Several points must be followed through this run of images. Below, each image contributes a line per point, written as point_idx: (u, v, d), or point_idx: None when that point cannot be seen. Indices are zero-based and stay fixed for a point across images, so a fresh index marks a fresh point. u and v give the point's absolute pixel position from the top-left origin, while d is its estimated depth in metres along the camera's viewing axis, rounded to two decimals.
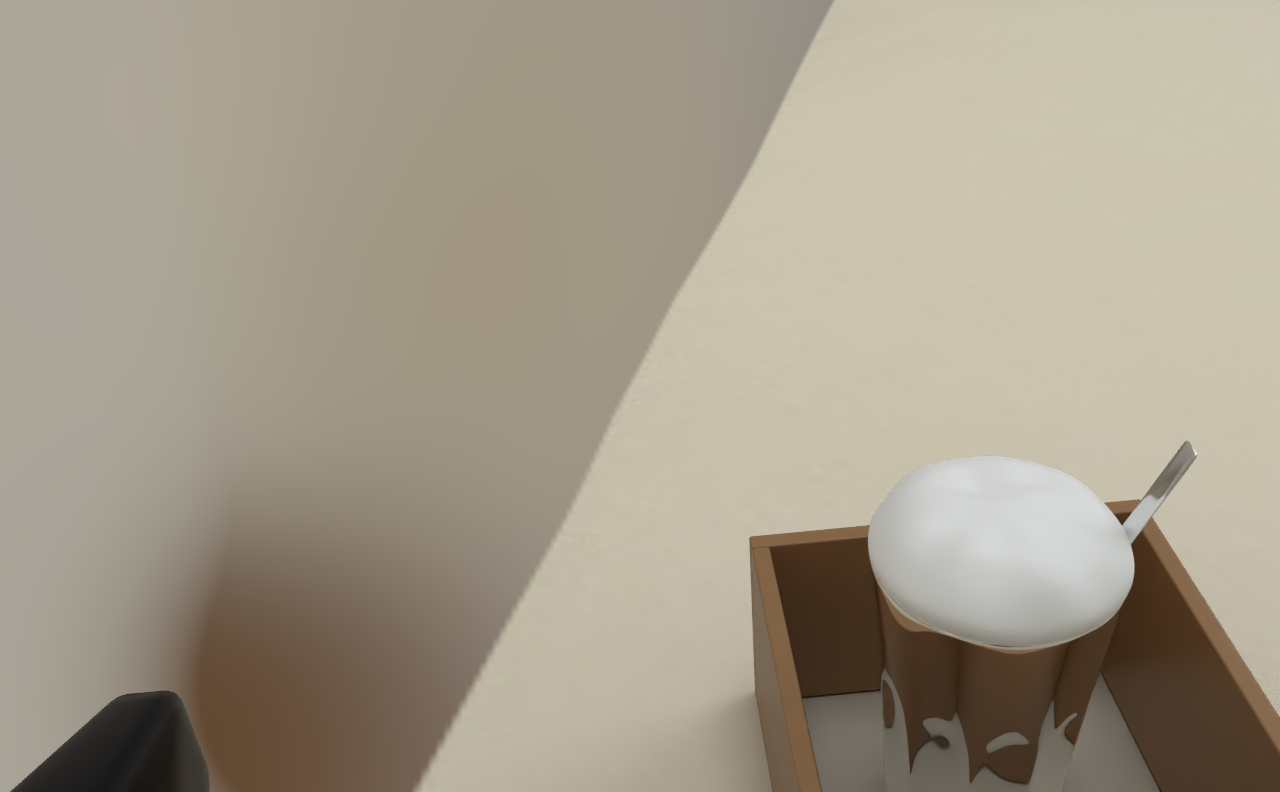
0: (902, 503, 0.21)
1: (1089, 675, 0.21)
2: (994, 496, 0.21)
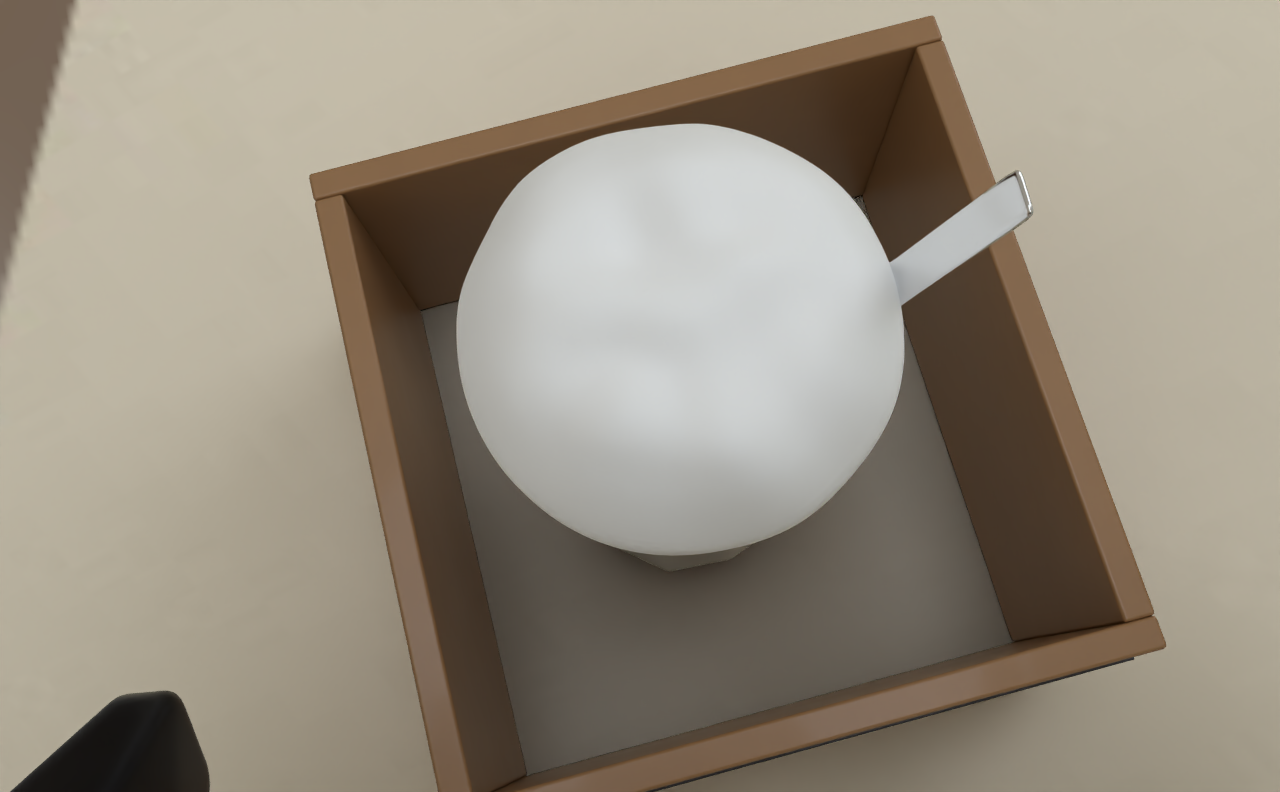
0: (501, 301, 0.11)
1: None
2: (664, 279, 0.11)
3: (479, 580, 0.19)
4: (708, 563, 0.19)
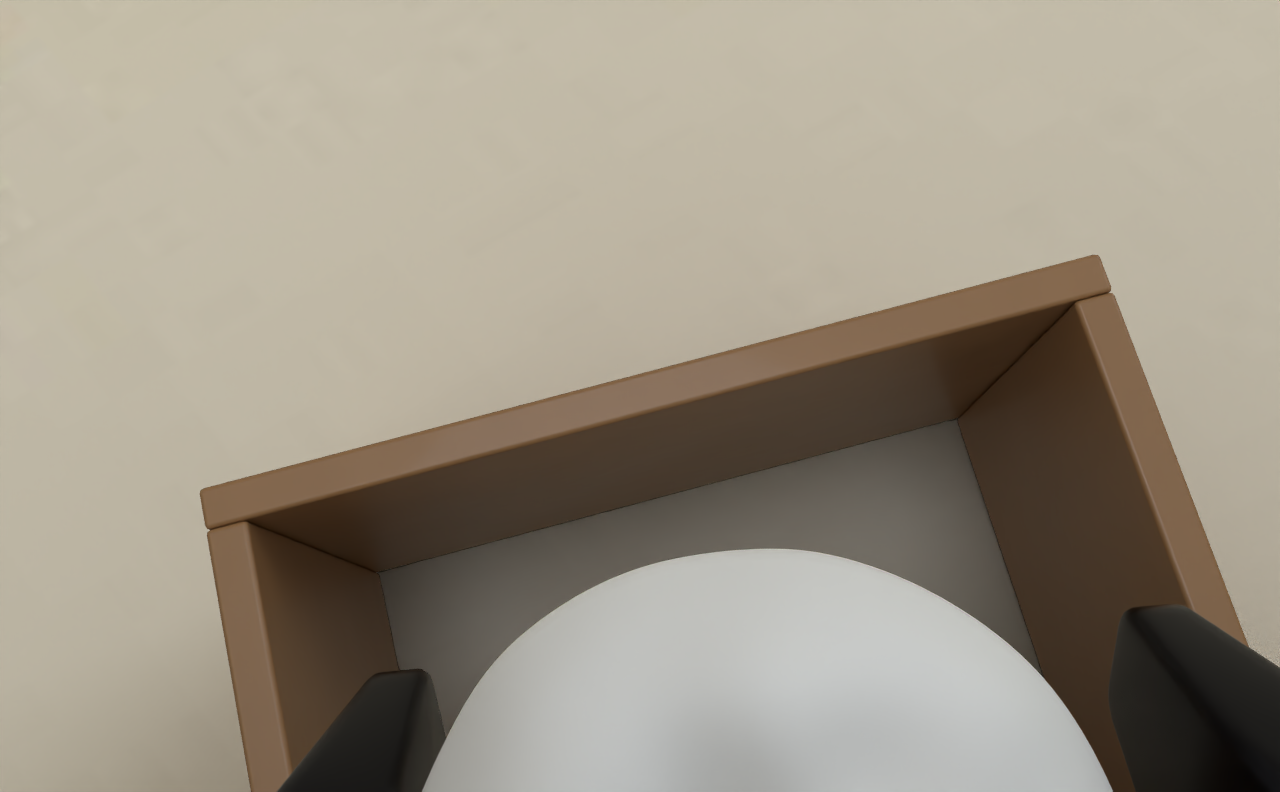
0: None
1: None
2: None
3: None
4: None
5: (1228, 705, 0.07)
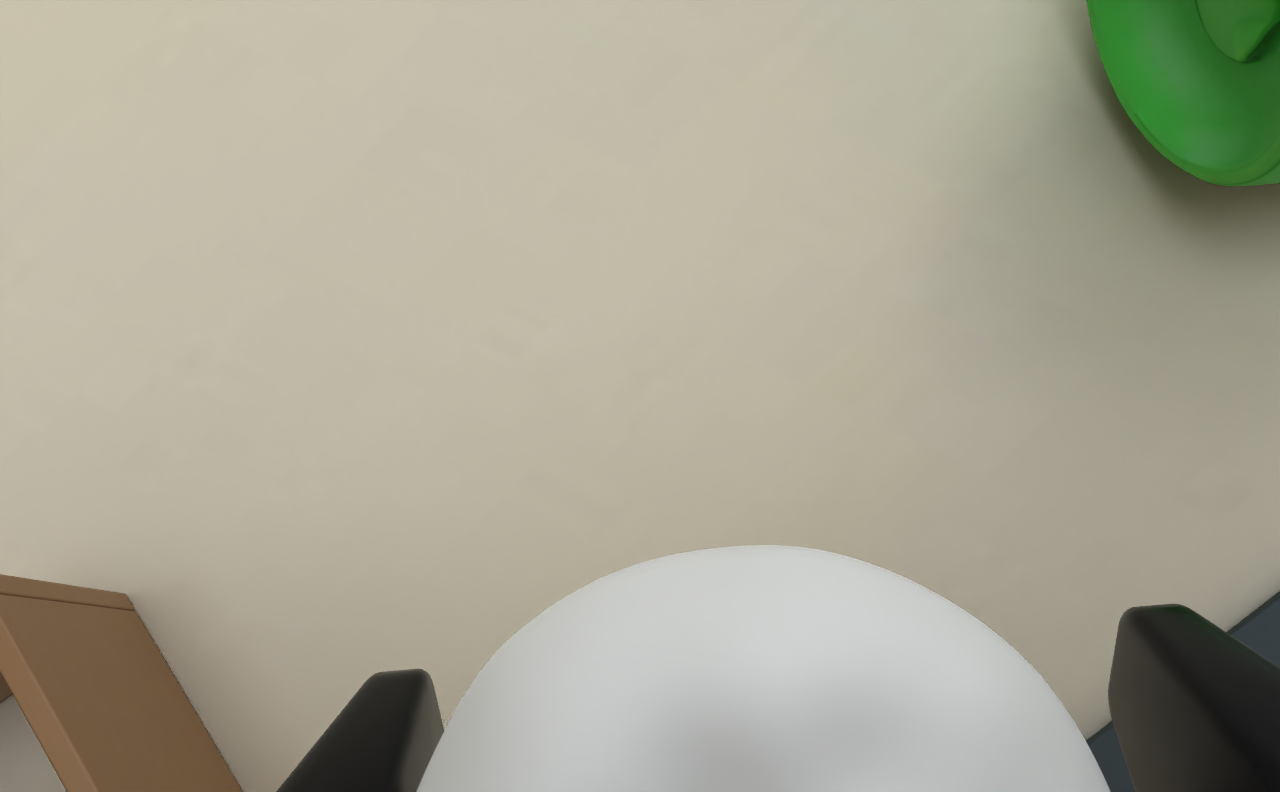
0: None
1: None
2: None
3: None
4: None
5: (1228, 705, 0.07)
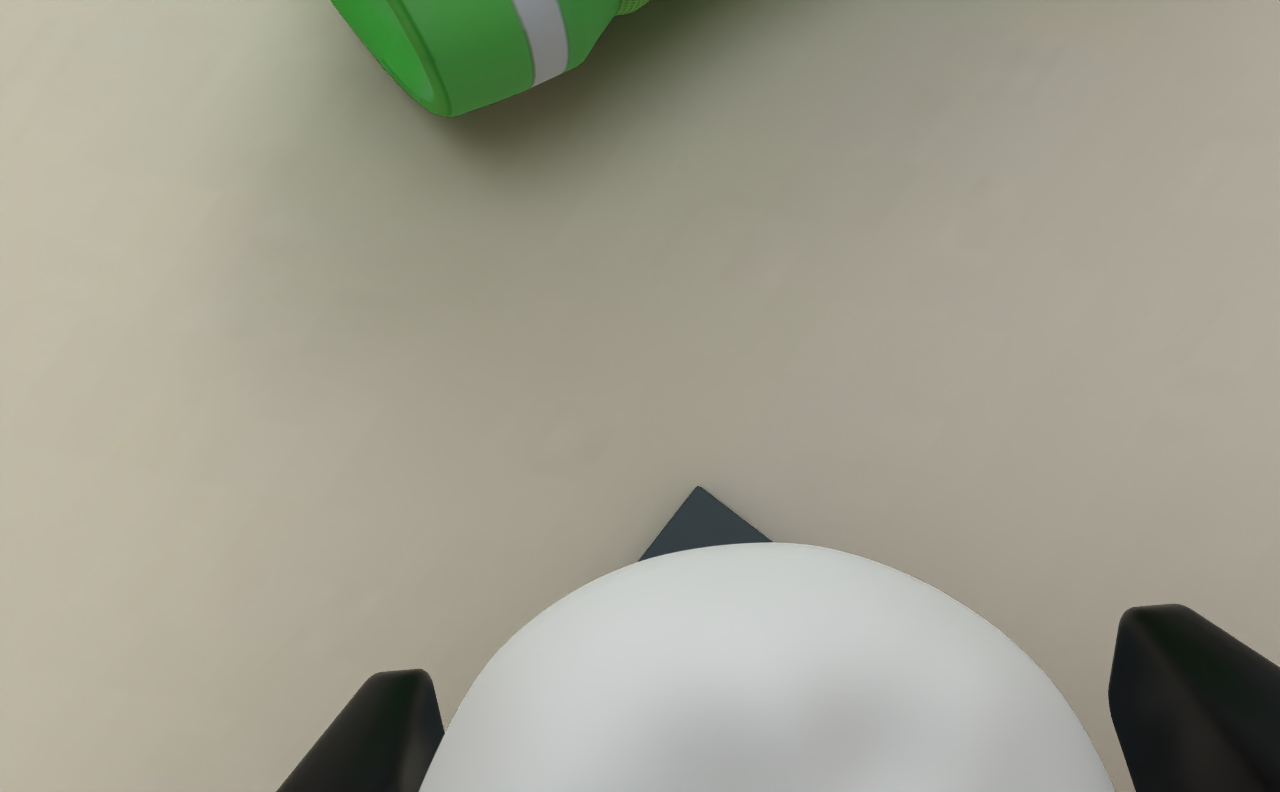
0: None
1: None
2: None
3: None
4: None
5: (1228, 705, 0.07)
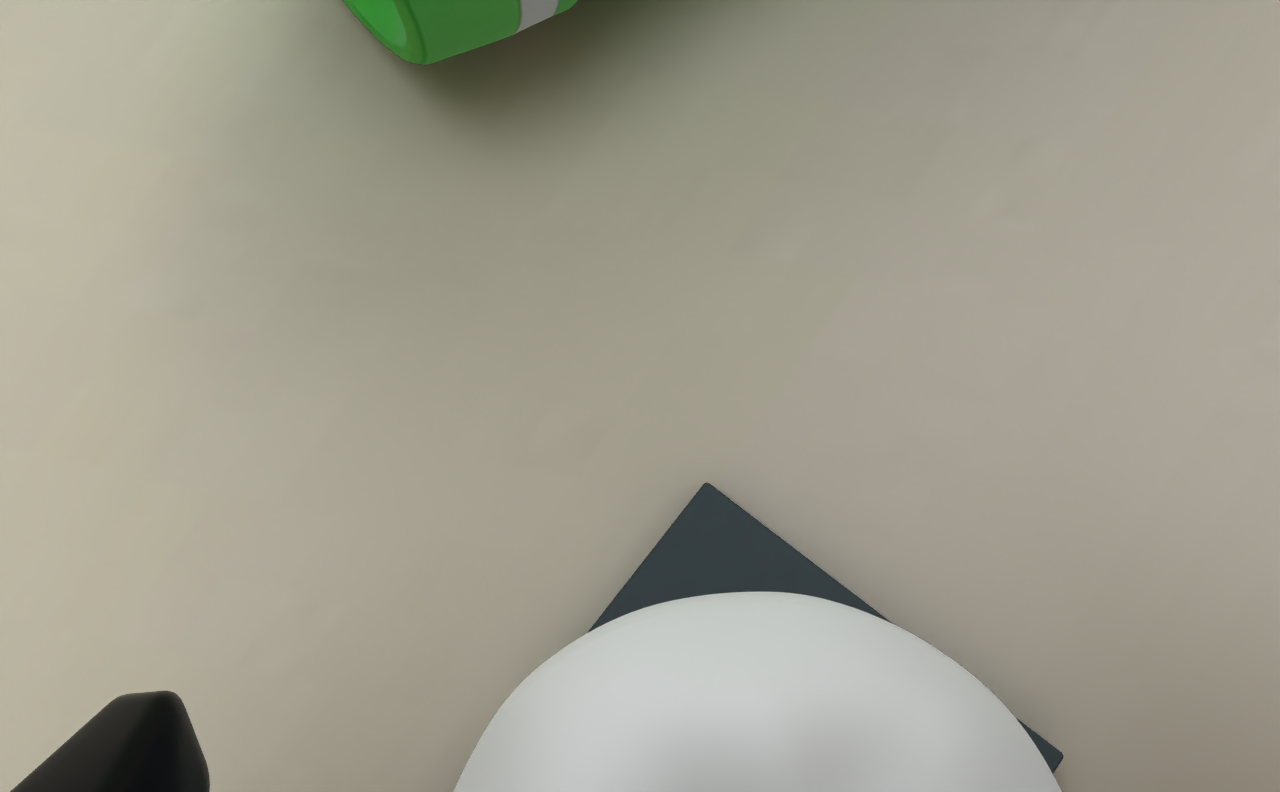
0: None
1: None
2: None
3: None
4: None
5: None
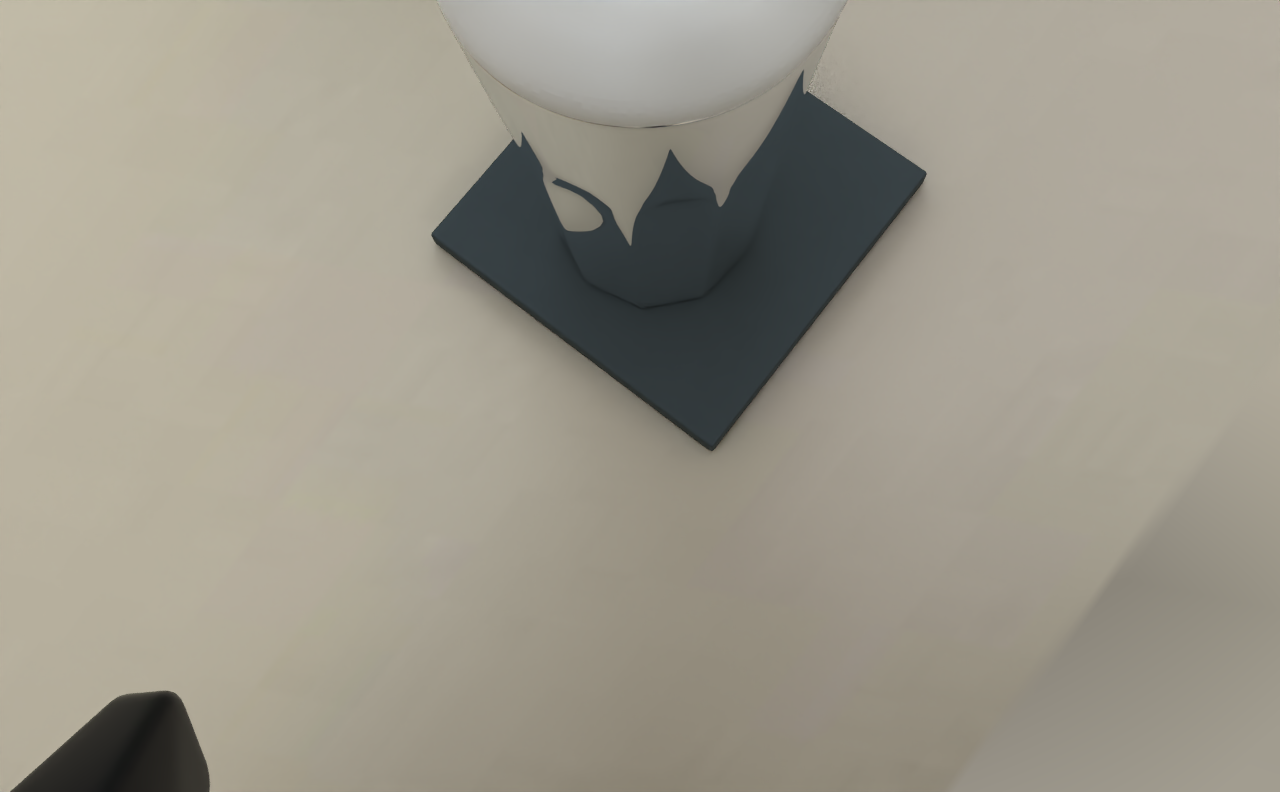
0: None
1: (789, 112, 0.14)
2: None
3: None
4: (681, 297, 0.19)
5: None
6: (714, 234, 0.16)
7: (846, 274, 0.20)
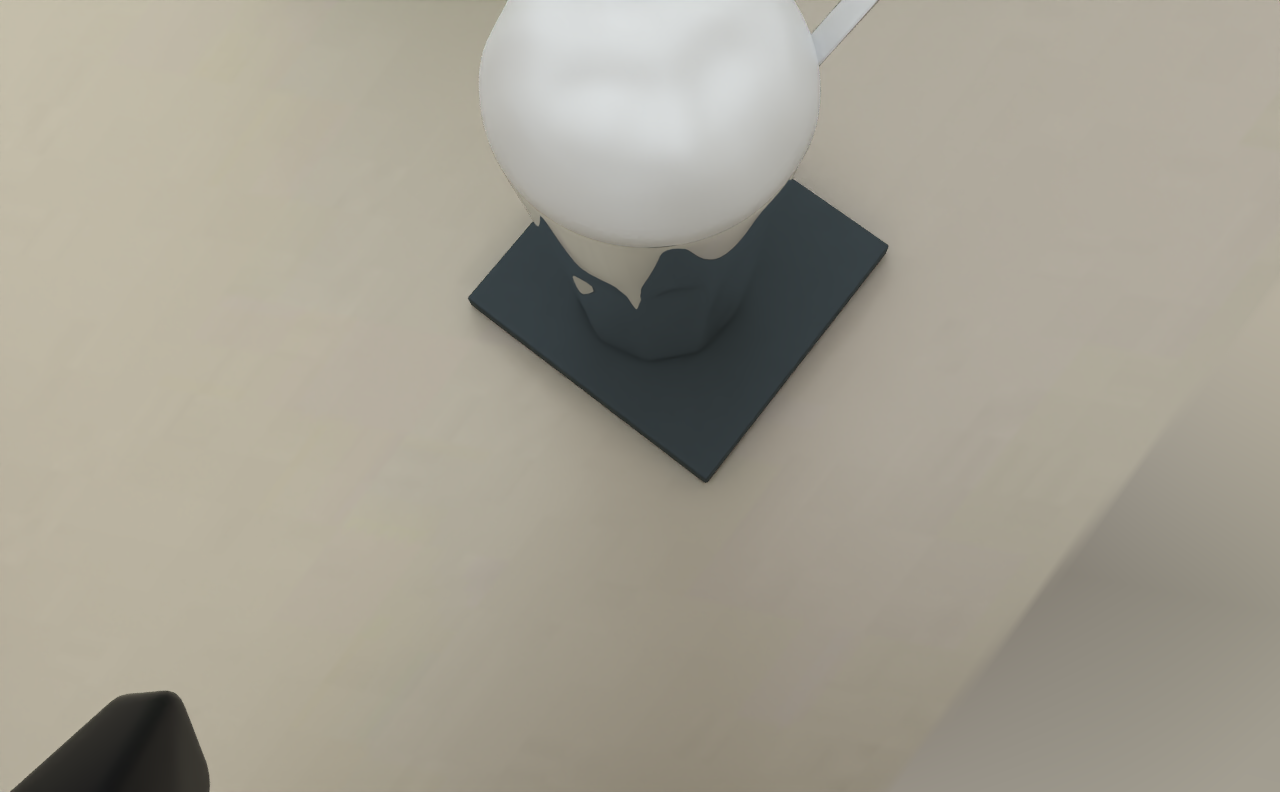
0: (514, 48, 0.15)
1: (765, 224, 0.17)
2: (637, 31, 0.15)
3: None
4: (680, 353, 0.23)
5: None
6: (707, 309, 0.20)
7: (820, 333, 0.23)
